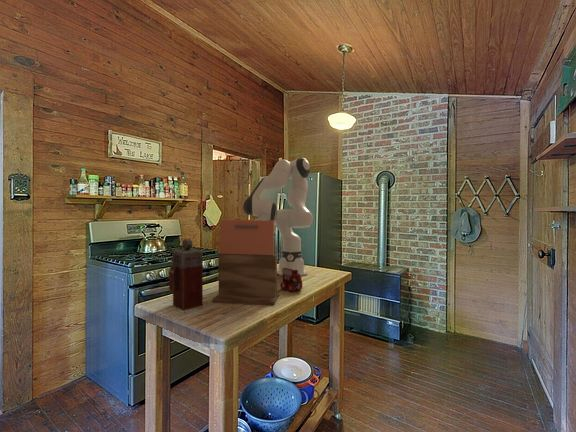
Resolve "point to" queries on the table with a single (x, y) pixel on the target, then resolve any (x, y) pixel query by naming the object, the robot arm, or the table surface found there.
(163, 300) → the table surface
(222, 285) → the wooden box
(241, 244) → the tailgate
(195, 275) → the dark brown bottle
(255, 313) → the table surface
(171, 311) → the table surface
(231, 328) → the table surface
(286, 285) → the dark red lumpy cluster
